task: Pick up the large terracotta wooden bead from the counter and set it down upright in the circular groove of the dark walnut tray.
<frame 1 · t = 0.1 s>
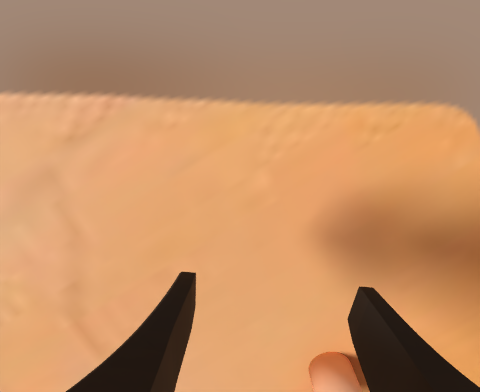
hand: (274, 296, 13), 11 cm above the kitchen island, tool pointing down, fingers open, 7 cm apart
bead: (330, 368, 28), on the kitchen island
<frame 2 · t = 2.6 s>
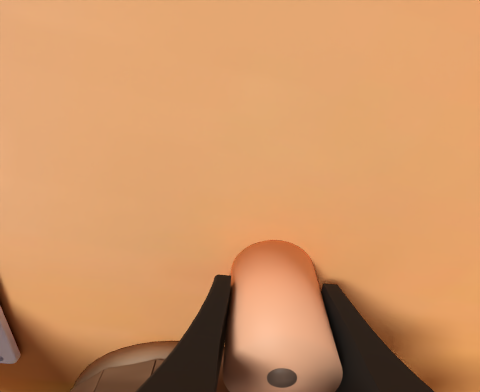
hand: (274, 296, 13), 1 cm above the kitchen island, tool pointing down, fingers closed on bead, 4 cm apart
bead: (272, 273, 14), on the kitchen island, touching gripper
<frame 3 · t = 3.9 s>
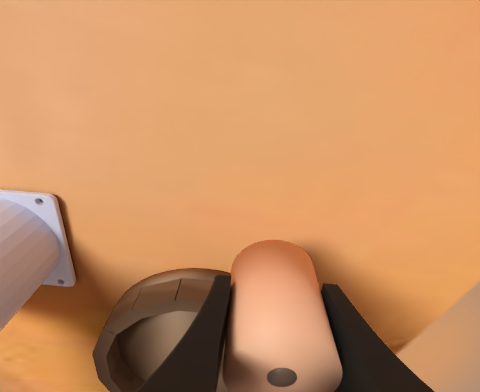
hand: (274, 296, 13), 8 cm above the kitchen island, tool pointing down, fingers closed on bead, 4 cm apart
bead: (272, 273, 14), point 6 cm above the kitchen island, touching gripper
groove tray: (203, 338, 26), on the kitchen island
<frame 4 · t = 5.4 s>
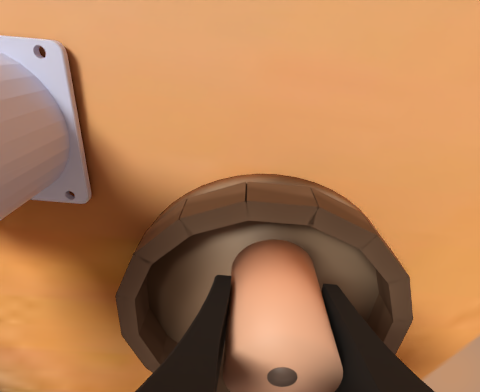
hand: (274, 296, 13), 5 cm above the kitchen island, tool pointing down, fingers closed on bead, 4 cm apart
bead: (272, 273, 14), point 3 cm above the kitchen island, touching gripper
groove tray: (259, 286, 19), on the kitchen island
when the fingers open (4 cm above the kitchen island, at t = 6.0 s): bead drops 1 cm, resting on groove tray.
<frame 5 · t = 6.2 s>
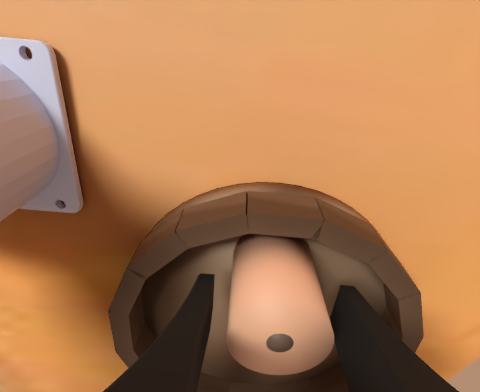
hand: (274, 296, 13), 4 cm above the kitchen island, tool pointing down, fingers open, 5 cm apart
bead: (271, 256, 15), point 1 cm above the kitchen island, touching groove tray
groove tray: (261, 298, 18), on the kitchen island
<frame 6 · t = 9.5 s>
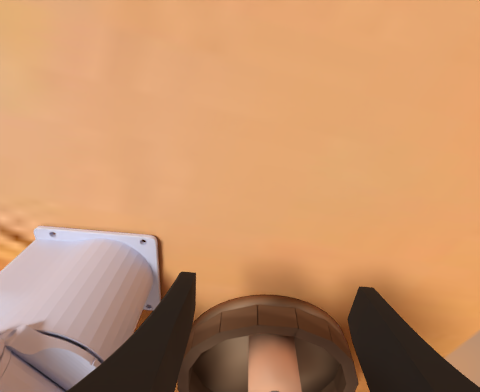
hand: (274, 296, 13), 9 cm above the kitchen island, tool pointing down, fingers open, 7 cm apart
bead: (270, 335, 26), point 1 cm above the kitchen island, touching groove tray
groove tray: (264, 353, 29), on the kitchen island
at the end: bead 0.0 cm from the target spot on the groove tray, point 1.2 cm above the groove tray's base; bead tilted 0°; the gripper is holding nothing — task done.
